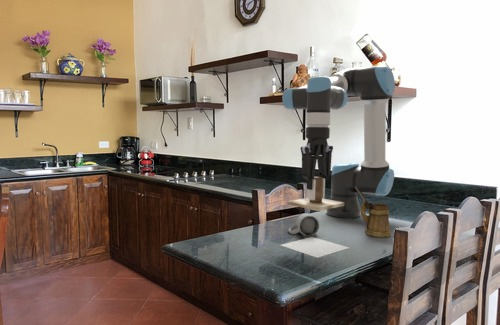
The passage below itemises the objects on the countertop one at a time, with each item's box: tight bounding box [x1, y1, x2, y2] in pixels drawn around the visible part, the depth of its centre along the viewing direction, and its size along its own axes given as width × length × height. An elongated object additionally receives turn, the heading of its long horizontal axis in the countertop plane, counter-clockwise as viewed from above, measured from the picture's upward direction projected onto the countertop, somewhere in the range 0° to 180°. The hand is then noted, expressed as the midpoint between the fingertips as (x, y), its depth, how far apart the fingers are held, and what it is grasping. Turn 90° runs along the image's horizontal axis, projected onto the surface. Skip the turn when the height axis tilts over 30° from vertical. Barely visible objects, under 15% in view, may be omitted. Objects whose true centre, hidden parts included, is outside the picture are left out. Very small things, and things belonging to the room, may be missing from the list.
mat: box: [280, 236, 350, 259], centre depth 131 cm, size 16×16×1 cm
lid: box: [286, 176, 344, 212], centre depth 130 cm, size 13×13×9 cm
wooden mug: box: [355, 186, 392, 238], centre depth 148 cm, size 9×14×18 cm, turn 82°
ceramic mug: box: [288, 212, 320, 236], centre depth 148 cm, size 11×8×8 cm
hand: (315, 198), depth 130 cm, fingers closed on lid, 4 cm apart
